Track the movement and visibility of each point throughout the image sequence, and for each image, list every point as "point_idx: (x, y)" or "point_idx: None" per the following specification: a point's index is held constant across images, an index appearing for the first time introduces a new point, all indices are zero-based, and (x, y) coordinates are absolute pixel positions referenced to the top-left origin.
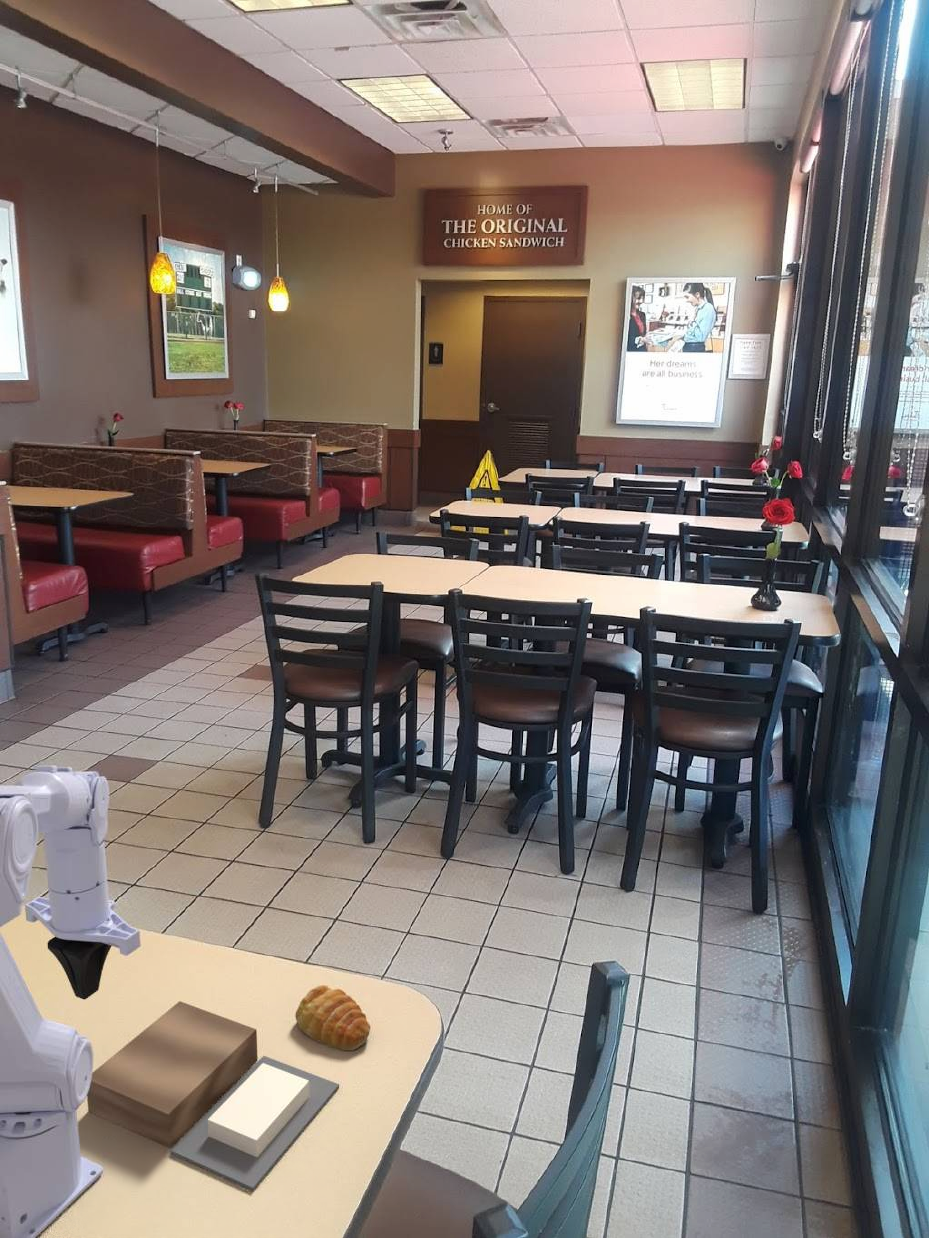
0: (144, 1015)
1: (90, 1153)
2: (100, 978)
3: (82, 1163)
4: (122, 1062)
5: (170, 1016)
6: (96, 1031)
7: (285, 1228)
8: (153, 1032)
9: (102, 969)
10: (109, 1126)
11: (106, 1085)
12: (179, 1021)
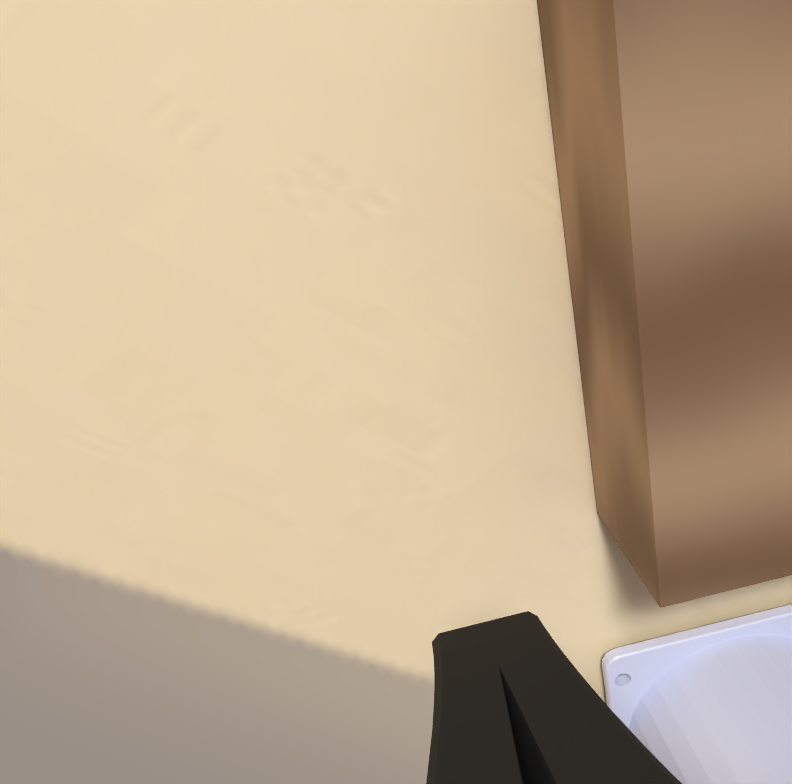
0: (250, 9)
1: None
2: (575, 670)
3: (784, 631)
4: (723, 465)
5: (675, 75)
6: (187, 265)
7: None
8: (696, 243)
9: (634, 737)
10: None
11: (770, 572)
12: (761, 68)
